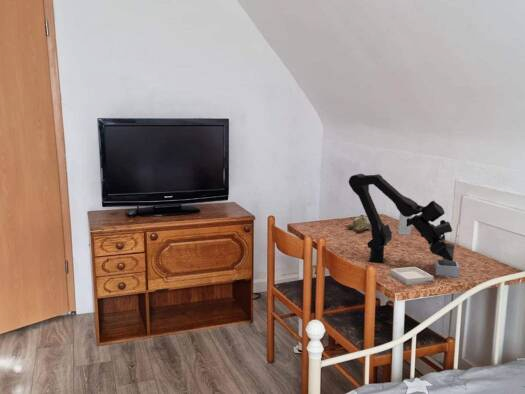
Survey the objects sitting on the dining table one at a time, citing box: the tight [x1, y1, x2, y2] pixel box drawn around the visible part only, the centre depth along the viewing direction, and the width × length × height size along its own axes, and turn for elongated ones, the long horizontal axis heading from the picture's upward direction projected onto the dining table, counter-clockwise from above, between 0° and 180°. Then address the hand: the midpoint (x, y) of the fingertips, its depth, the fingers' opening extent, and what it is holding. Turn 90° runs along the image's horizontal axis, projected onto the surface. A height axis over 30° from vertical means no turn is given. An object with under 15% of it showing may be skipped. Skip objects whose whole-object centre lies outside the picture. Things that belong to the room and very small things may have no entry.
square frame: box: [434, 258, 460, 278], centre depth 202 cm, size 8×8×4 cm
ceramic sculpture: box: [343, 214, 371, 233], centre depth 266 cm, size 11×9×15 cm
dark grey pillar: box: [441, 242, 455, 266], centre depth 201 cm, size 4×4×12 cm
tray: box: [389, 266, 434, 286], centre depth 194 cm, size 12×12×2 cm
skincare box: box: [397, 212, 413, 236], centre depth 259 cm, size 6×4×12 cm
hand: (451, 256), depth 201 cm, fingers open, 9 cm apart
